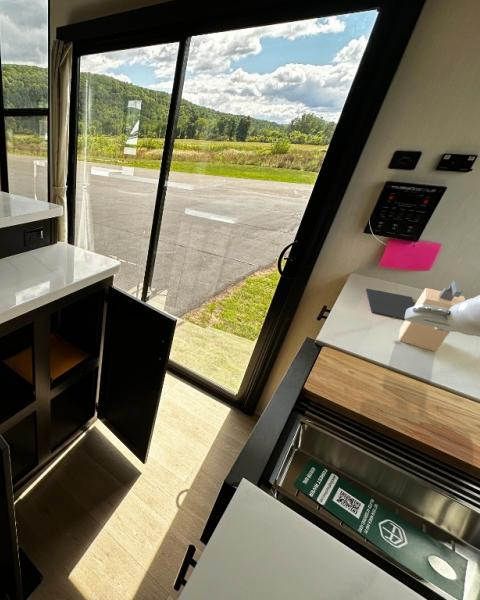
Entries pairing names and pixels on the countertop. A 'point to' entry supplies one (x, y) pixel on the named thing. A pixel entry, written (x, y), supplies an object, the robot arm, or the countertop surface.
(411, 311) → the robot arm
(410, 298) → the mat
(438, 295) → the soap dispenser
